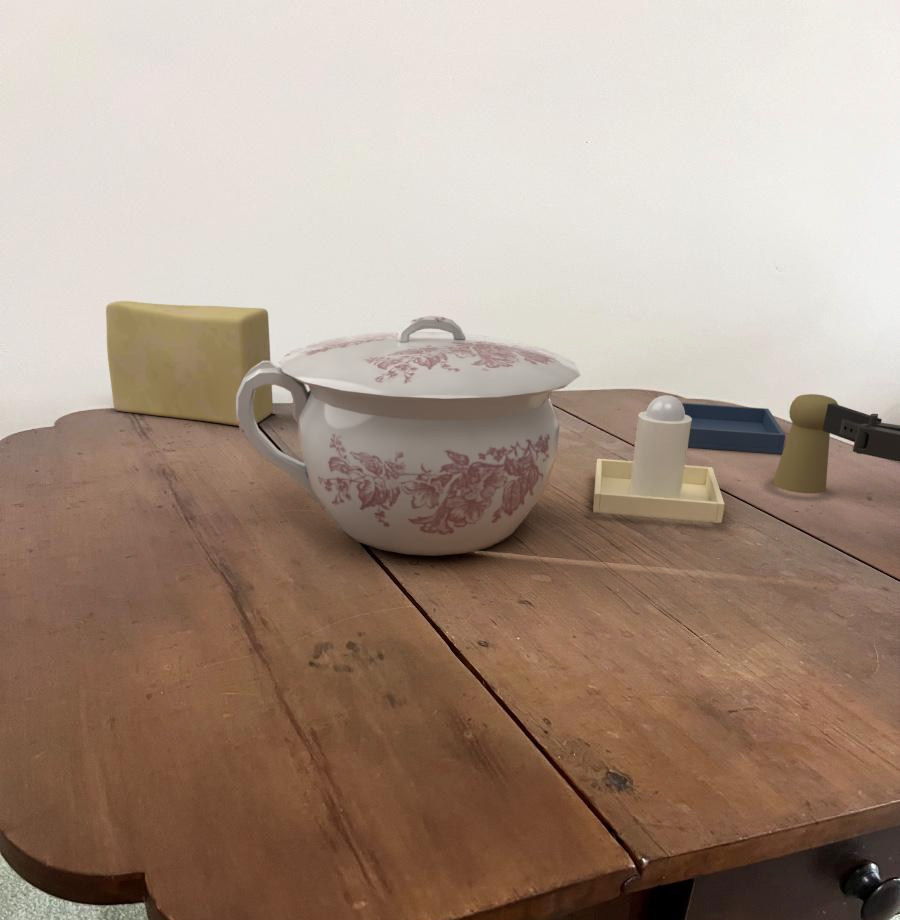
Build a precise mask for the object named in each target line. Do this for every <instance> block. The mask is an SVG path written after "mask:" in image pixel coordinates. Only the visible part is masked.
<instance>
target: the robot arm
mask: <svg viewBox="0 0 900 920" xmlns="http://www.w3.org/2000/svg"><path fill="white" fill-rule="evenodd" d="M822 431H825V432H828V433H830V435H833V436H835V437H838V438H842V439H844V440H847V441H850V442H852V443H853V446H852V452H854V453H856V454H858V455H865V456H866V455H867V456H871V457H875V458H879V459H883V460H884V459H885V460H888V461H893V462H897V463H900V424H894V423H887V422H886V423H885V422H883V421H882V418H879V413H870V414H867V413H864V412H861V411H858V410H856V409H852V408H849V407H846V406H843V405H840V404H838V405H837V404H828V407H827V411H826V416H825V421H824V425H823V430H822Z"/></svg>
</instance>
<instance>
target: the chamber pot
mask: <svg viewBox="0 0 900 920" xmlns="http://www.w3.org/2000/svg"><path fill="white" fill-rule="evenodd" d="M429 329H431V330H441V331H421V330H429ZM278 365H279V366H277V365H275V364H274V362H272V361H271V360H270V361H262V362H260V363H259V364H257V365H256V366H254V367H252V368H251V369H250V370H249V371H248V373H247V374H246V375H245V376H244V378H243V381H242V383H241V385H240V387H239V389H238V392H237V394H236V418H237V421H238V425H239V426H238V428H239V432H240V433H241V435H242V436H243V437H244V438H245V439H246V440H247V442H248V443H249V444H250V445H251V447H252V448H253V449H254V450H255V451H256V452H257V454H258V455H259V456H260V457H261V458H262V459H264V460H265V461H268V462H269V463H271V464H272V465H274V466H275V467H277V468H278V469H280V470H282V471H284V472H285V474H288V475H289V476H290V477H292V478H293V479H294V481H296V482H297V483H298V484H299V485H300V486H301V487H302V488H303V489H304V490H305V491H306V492H307V493H308V494H309V495H310V496H311V497H312V499H314V501H315V502H316V503H317V504H318V505H319V506H320V507H321V508H323V509H325V511H326V512H327V514H328V516H329V517H330V518H331V520H332V521H333V523H334V524H335V525H336V526H337V528H339V529H340V530H341V531H342V532H343V533H345V535H347V536H349V537H350V538H351V539H353V540H354V541H356V542H358V543H360V544H362V545H366V546H369V547H371V548H375V549H377V550H381V551H386V552H391V553H397V554H400V555H401V554H402V555H408V556H417V557H418V556H419V557H441V556H453V555H461V554H465V553H471V552H474V551H479V550H484V549H488V548H491V547H492V546H495V545H496V544H498V543H501V542H503V541H505V540H506V539H508V538H509V536H511V535H513V533H514V532H515V531H516V530H517V529H518V528H519V526H520V525H521V524H523V522H524V520H525V519H526V518H527V516H528V515H529V514H530V512H531V511H532V510H533V508H534V507H535V506H536V504H537V503H538V501H539V500H540V499H541V498H542V496H543V495H544V493H545V492H546V491H547V488H548V485H549V481H550V478H551V475H552V472H553V467H554V465H555V460H556V459H557V454H558V450H559V449H558V448H559V437H560V426H561V425H560V421H559V416H558V413H557V411H556V409H555V407H554V405H553V403H552V400H551V399H550V397H551V395H552V393H553V392H554V391H558V390H561V389H565V388H566V387H568V386H569V385H570V384H571V383H573V382H574V381H575V380H577V379H578V378H579V377H581V371H580V370H579V367H578V365H577V363H576V362H575V361H573V360H571V359H570V358H567V357H566V356H563V355H561V354H559V353H557V352H553V351H550V350H548V349H545V348H543V347H539V346H535V345H532V344H529V343H524V342H521V341H515V340H512V339H511V340H510V339H506V338H499V337H498V338H497V337H493V336H486V335H480V334H471V333H464V331H463V330H462V328H461V326H460V325H458V324H457V323H456V322H455V321H454V320H452V319H451V318H447V317H444V316H439V315H438V316H437V315H427V316H422V317H418V318H414V319H412V320H409V321H407V322H406V323H405V324H404V325H403V326H402V327H400V329H398V331H384V332H373V333H372V332H371V333H361V334H355V335H354V334H353V335H348V336H340V337H333V338H327V339H324V340H320V341H317V342H314V343H311V344H308V345H304V346H301V347H298V348H294V349H292V350H290V351H289V352H288V353H286V354H285V355H284V356H283V357H282V358H281V359H280V360H279V362H278ZM267 385H272V386H277V387H280V388H283V389H285V390H286V391H288V392H290V394H291V398H292V418H293V419H294V420H295V422H296V423H297V436H298V437H297V439H298V440H297V441H298V444H299V449H300V453H301V456H302V460H303V462H302V461H301V460H298V459H296V458H294V457H292V456H290V455H288V454H286V453H285V452H283V451H281V450H279V449H278V448H277V447H276V446H275V444H273V443H272V442H271V441H270V440H269V439H268V437H267V436H266V435H265V434H264V433H263V432H262V431H261V430H260V428H259V425H258V423H257V422H256V419H255V416H254V413H253V407H254V394H255V389H257V388H259V387H262V386H267ZM307 386H308V387H307Z"/></svg>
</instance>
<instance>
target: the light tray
mask: <svg viewBox="0 0 900 920" xmlns="http://www.w3.org/2000/svg"><path fill="white" fill-rule="evenodd" d="M632 464H633V460H621V459H608V458H597V459H596V465H595V476H594V488H593V489H594V491H593V505H592V506H593V507H592V513H599V514H611V515H623V516H634V517H647V518H656V519H657V518H659V519H671V520H682V521H684V520H685V521H695V522H705V523H716V524H719V523H720V524H722V522H723V519H724V518H723V517H724V512H725V505H726V504H725V501H724V498H723V495H722V492H721V489H720V487H719V483H718V480H717V477H716V474H715V471H714V467H712V466H701V465H700V466H698V465H688V464H685V471H684V477H683V484H682V491H681V498H680V499H676V498H663V497H651V496H639V495H629V489H630V480H631V472H632Z"/></svg>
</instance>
